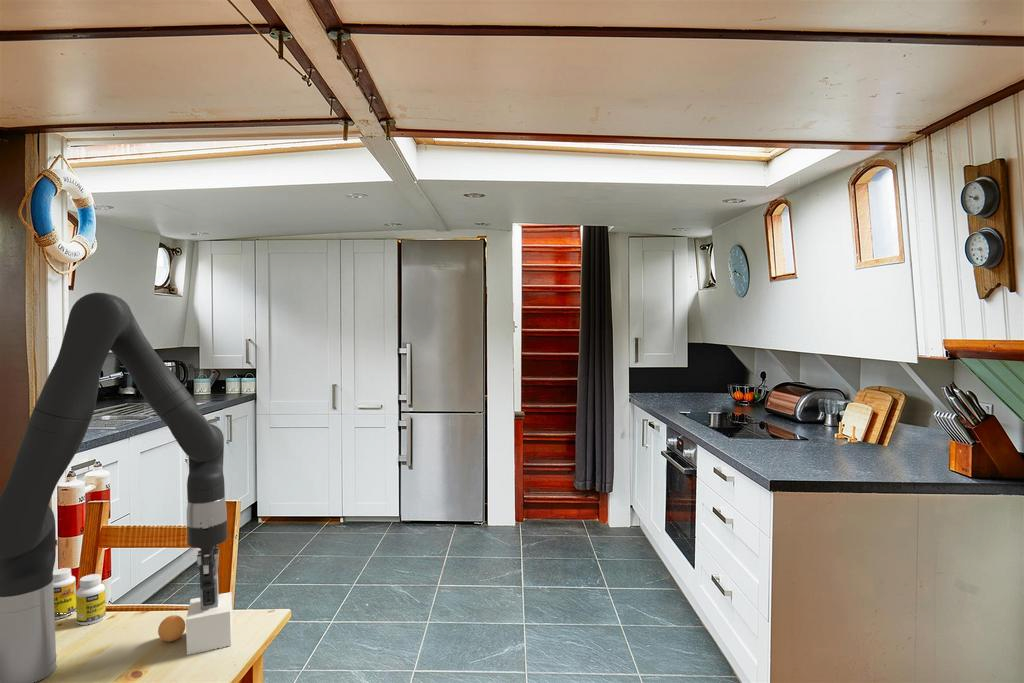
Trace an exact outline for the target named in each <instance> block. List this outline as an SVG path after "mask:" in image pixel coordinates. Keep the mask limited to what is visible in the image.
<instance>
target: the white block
mask: <svg viewBox="0 0 1024 683" xmlns="http://www.w3.org/2000/svg"><path fill="white" fill-rule="evenodd" d="M210 581H211V580H206V581H204V582H210ZM215 582H216V585H215V604H214V605H210V606H203V590H201V588H200V587H199V597H196V598H191V599H190V601H189V605H188V609H187V614H186V618H185V634H186V635H185V636H186V639H185V640H186V655H187V656H188V655H193V654H194V655H195V654H199V653H203V652H208V651H213V649H214V650H218V649H217V648H219V649H223V647H224V648H227V647H226V646H229V647H231V646H232V636H233V635H232V634H233V626H234V625H233V623H234V622H233V592H232V591H229V592H225V593H223V592H222V593H219V572H217V574H216V575H215ZM232 625H233V626H232Z"/></svg>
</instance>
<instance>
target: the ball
mask: <svg viewBox="0 0 1024 683" xmlns="http://www.w3.org/2000/svg"><path fill="white" fill-rule="evenodd" d="M158 625H159V626H158V630H157V633H158V637H159V638H160V639H161V640H162V641H164V642H168V643H169V642H174V641H177V640H178V639H180V638H181V637H182V636H183V634H184V632H185V631H186V620H184V618H183V617H181V616H180V615H177V614H176V615H175V614H174V615H169V616H167V617H165V618H164V619H163V620H162V621H161V622H160V623H159V624H158Z"/></svg>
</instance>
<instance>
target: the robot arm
mask: <svg viewBox="0 0 1024 683" xmlns="http://www.w3.org/2000/svg"><path fill="white" fill-rule="evenodd" d="M110 351H111V353H112V354H113V355H115V357H116V358H117V359H118V360H119V361H120V362H121V364H122V365H123V367H124V368H125V369H126V371H127V372H128V374H129V375H130V378H131V379H132V380H133V382H134V385H136V387H137V390H138V391H139V393H140V394H141V395H142V398H144V400H145V401H146V403H147V404H148V405H149V406H150V408H151V409H152V410H153V411H154V413H155V414H156V415H157V416H158V417H159V418H160V419H161V421H162V422H163V424H165V425H166V426H167V427H168V429H169V430H170V433H171V434H172V436H173V438H174V439H175V441H176V443H177V444H178V445H179V447H180V448H181V450H182V451H183V452H184V453H185V454H186V456H188V476H187V481H186V490H187V491H186V492H187V493H186V496H187V500H186V501H187V502H186V503H187V506H186V535H187V539H186V540H187V542H186V543H187V546H189V547H190V548H193V549H200V550H198V551H197V555H196V563H197V564H198V569H197V570H198V577H199V589H200V588H201V590H203V606H210V605H214V604H215V585H216V582H215V575H216V574H217V573H218V568H219V557H220V547H218V545H220V544H223V543H225V542H226V541H227V539H228V513H227V512H228V511H227V509H228V508H227V502H226V491H225V490H226V489H225V485H226V484H225V477H224V475H225V474H224V457H225V455H224V454H225V452H224V450H225V449H224V447H225V440H224V439H225V438H224V433H223V432H222V430H221V429H220V428H219V427H218V426H216V425H215V424H212V423H210V422H209V421H208V420H207V419H206V417H205V416H204V415H203V413H202V412H201V411H200V409H199V406H198V403H197V401H196V400H195V399H194V398H193V396H192V395H191V393H190V392H189V391H188V390H187V388H186V387H185V385H183V384H182V382H181V381H180V380H179V379H178V377H177V376H176V375H175V374H174V372H173V371H172V370H171V369H170V368H169V367H168V366H167V365H166V363H165V362H164V360H162V358H161V357H160V356H159V354H158V352H156V351H155V349H154V348H153V346H152V345H151V343H150V342H149V341H148V339H147V337H146V336H145V334H144V332H143V330H142V328H141V327H140V325H139V323H138V322H137V320H136V318H135V315H134V314H133V312H132V310H131V308H130V305H129V304H128V303H127V302H126V301H125V300H124V299H122V298H121V297H119V296H116V295H113V294H111V293H110V294H109V293H107V292H92V293H88V294H85V295H83V296H81V297H80V298H79V299H77V300H76V301H75V303H74V304H73V306H72V307H71V309H70V311H69V315H68V319H67V322H66V327H65V331H64V334H63V338H62V342H61V346H60V349H59V352H58V355H57V358H56V361H55V362H54V365H53V366H52V368H51V371H50V372H49V375H48V376H47V378H46V380H45V383H44V385H43V386H42V389H41V390H40V391H41V392H40V394H39V396H38V399H37V400H36V403H35V405H34V407H33V410H32V413H31V415H30V416H29V420H28V422H27V425H26V427H25V431H24V433H23V436H22V439H21V442H20V444H19V447H18V450H17V453H16V456H15V459H14V463H13V465H12V469H11V472H10V475H9V476H8V480H7V482H6V483H5V486H4V488H3V490H2V492H1V494H0V683H34V682H35V683H38V682H40V681H41V680H43V679H45V678H47V677H49V676H51V674H53V673H54V672H55V670H56V669H57V647H56V646H57V645H56V621H55V620H56V619H55V614H54V590H53V571H54V567H55V564H56V557H57V556H56V553H57V552H56V551H57V545H56V542H57V541H56V540H57V539H56V538H57V537H56V533H57V532H56V519H55V518H56V517H55V514H54V512H53V508H51V507H50V502H51V500H52V497H53V494H54V491H55V489H56V487H57V485H58V483H59V481H60V479H61V478H62V477H63V474H64V473H65V471H66V470H67V468H68V467H69V465H70V464H71V462H72V461H73V459H74V457H75V455H76V454H77V452H78V450H79V448H80V446H81V444H82V443H83V440H84V439H85V436H86V434H87V432H88V429H89V426H90V424H91V421H92V419H93V415H94V413H95V409H96V405H97V400H98V392H99V388H100V387H99V385H100V380H101V379H100V377H101V372H102V369H103V367H104V364H105V362H106V359H107V357H108V355H109V353H110ZM206 580H211V581H210V582H204V581H206ZM37 681H38V682H37Z"/></svg>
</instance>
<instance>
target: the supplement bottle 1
mask: <svg viewBox="0 0 1024 683" xmlns="http://www.w3.org/2000/svg"><path fill="white" fill-rule="evenodd" d="M76 581H77V579H76V576H74V575H72V568H70V567H63V568H58V569H55V570H54V569H53V590H54V614H55V620H61V619H60V618H62V619H64V618H63V617H65V618H68V617H67V616H66V615H67V614H72V615H73V614H75V613H76V592H77V586H76V585H77V583H76ZM71 612H72V613H71ZM57 613H58V614H57ZM60 613H63V614H60ZM64 613H66V614H64Z"/></svg>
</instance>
